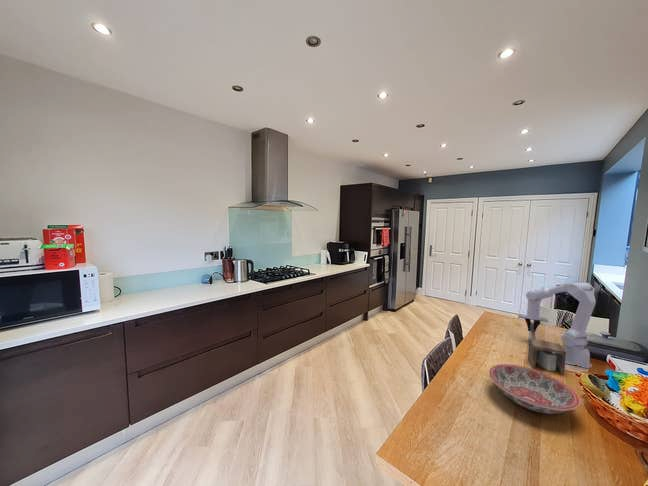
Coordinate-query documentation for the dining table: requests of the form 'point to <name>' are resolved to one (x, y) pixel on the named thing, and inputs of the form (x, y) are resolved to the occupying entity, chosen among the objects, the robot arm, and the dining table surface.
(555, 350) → the low cabinet
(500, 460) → the dining table surface
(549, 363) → the medicine box
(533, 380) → the ceramic bowl
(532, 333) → the steel block
